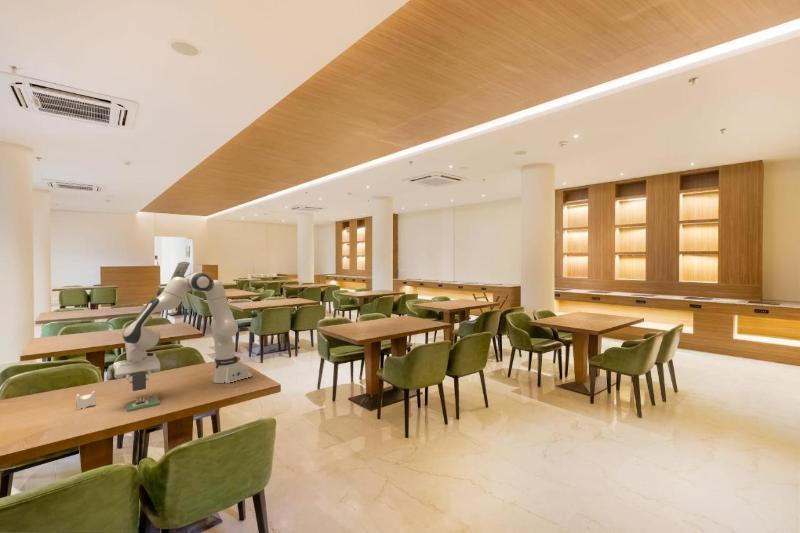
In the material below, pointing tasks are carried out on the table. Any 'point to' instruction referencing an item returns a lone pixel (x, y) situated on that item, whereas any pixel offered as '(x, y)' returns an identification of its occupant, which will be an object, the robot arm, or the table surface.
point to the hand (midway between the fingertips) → (139, 381)
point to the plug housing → (139, 381)
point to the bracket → (85, 400)
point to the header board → (142, 404)
